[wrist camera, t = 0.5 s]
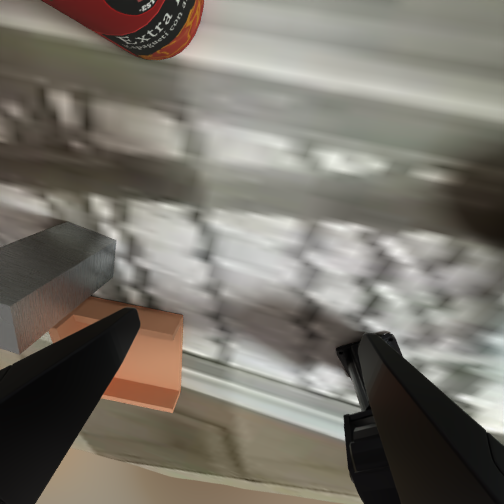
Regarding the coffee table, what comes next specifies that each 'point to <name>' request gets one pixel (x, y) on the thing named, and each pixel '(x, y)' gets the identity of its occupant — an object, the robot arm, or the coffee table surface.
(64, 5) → the canned food
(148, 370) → the coupler dock
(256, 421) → the coffee table surface
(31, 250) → the block
